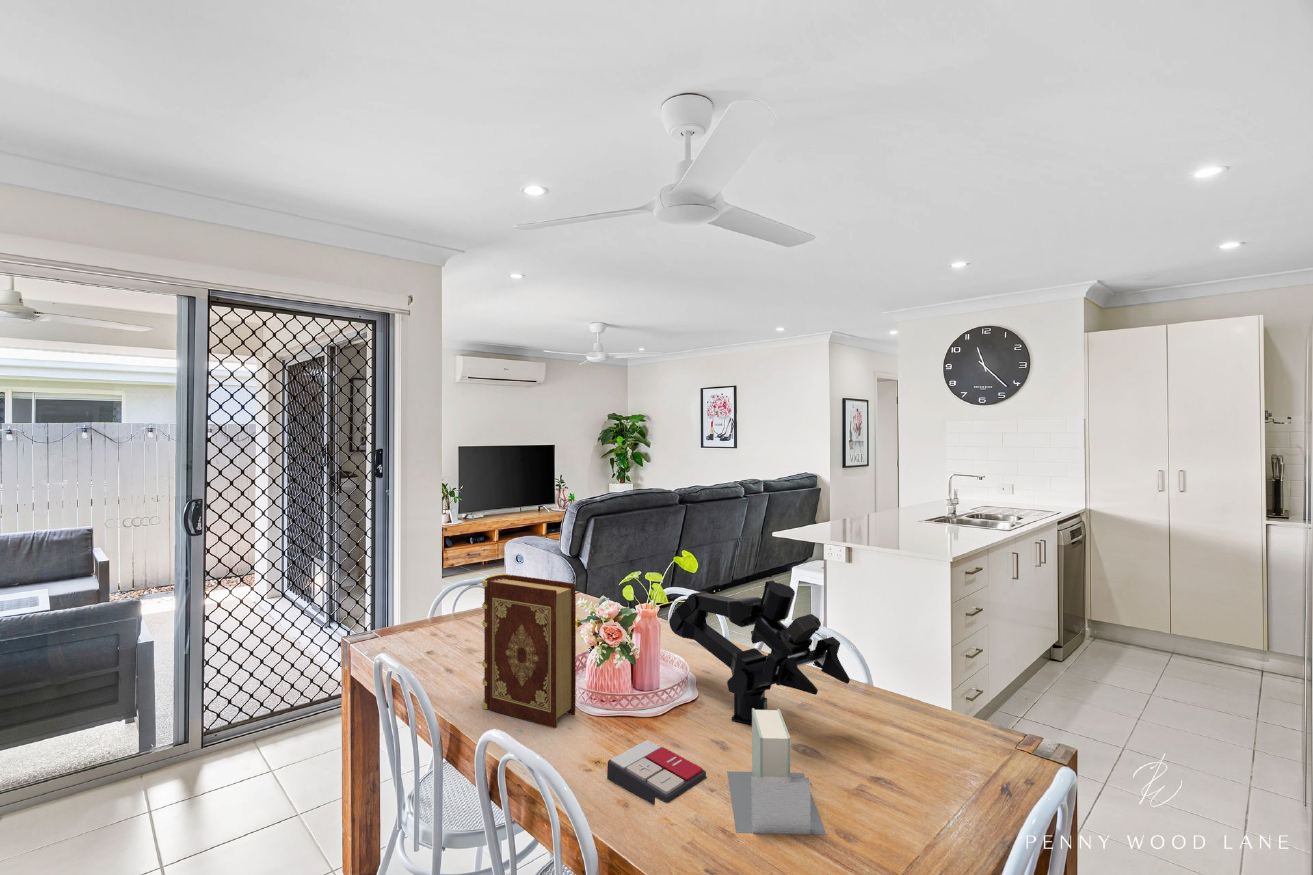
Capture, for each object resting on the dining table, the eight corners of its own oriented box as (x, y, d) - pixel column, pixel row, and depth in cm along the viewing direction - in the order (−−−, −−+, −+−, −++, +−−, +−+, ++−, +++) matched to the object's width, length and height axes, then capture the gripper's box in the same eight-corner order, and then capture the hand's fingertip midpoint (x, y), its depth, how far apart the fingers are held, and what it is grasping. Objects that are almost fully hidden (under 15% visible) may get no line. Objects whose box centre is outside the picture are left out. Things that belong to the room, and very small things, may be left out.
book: (752, 773, 113) (752, 708, 113) (779, 773, 113) (779, 708, 113) (760, 809, 102) (760, 737, 102) (790, 810, 102) (790, 737, 102)
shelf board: (727, 779, 114) (727, 771, 114) (803, 780, 113) (803, 772, 113) (736, 841, 96) (736, 832, 96) (826, 843, 96) (826, 834, 96)
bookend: (751, 826, 98) (751, 776, 98) (808, 827, 97) (808, 777, 97) (752, 832, 96) (752, 781, 96) (810, 834, 96) (810, 782, 96)
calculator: (667, 792, 104) (606, 756, 114) (666, 817, 104) (605, 779, 114) (707, 767, 112) (647, 735, 122) (706, 790, 112) (646, 756, 122)
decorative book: (477, 707, 144) (477, 579, 144) (500, 694, 151) (500, 572, 151) (554, 729, 133) (555, 590, 133) (576, 714, 140) (576, 582, 140)
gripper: (755, 612, 123) (810, 662, 111) (819, 598, 134) (876, 642, 121) (742, 658, 127) (794, 711, 114) (805, 641, 137) (859, 688, 125)
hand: (833, 686), depth 119 cm, fingers open, 9 cm apart
